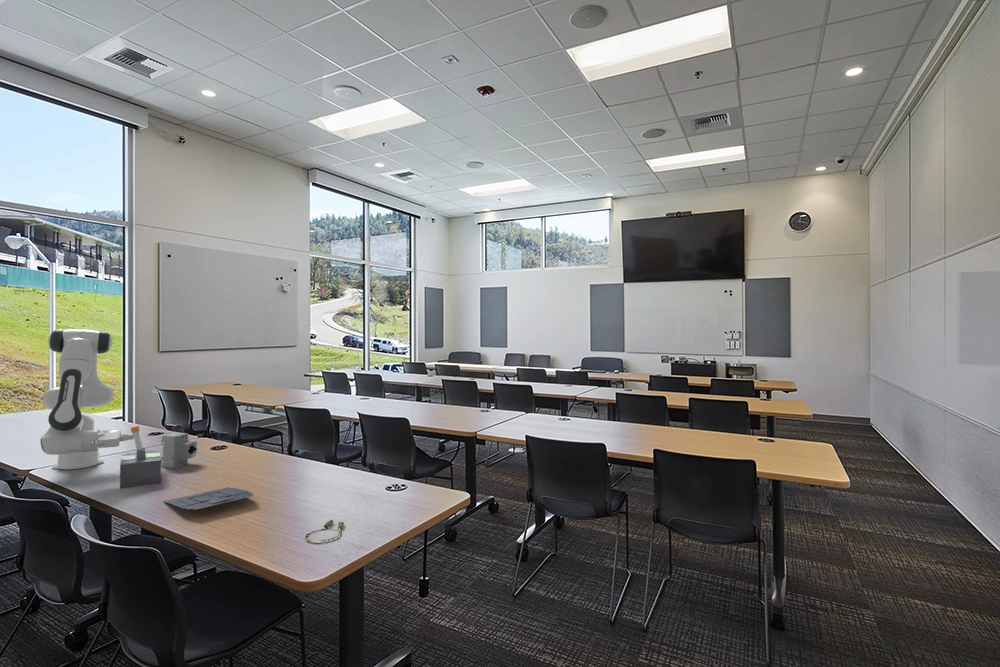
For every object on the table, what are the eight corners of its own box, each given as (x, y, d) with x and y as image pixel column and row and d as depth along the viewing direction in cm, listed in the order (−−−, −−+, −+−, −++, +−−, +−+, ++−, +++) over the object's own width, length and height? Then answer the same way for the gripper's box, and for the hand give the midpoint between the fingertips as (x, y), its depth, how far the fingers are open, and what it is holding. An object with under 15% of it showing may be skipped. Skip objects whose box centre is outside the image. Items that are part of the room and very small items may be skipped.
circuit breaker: (189, 467, 237) (190, 436, 237) (160, 466, 237) (161, 436, 237) (199, 463, 244) (200, 433, 244) (171, 462, 245) (172, 432, 245)
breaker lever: (137, 456, 217) (130, 426, 216) (145, 454, 219) (138, 424, 217) (137, 457, 215) (130, 427, 213) (145, 455, 217) (138, 425, 215)
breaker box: (121, 475, 222) (121, 446, 222) (158, 471, 230) (159, 442, 230) (119, 488, 204) (120, 456, 204) (160, 483, 212) (161, 452, 212)
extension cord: (357, 530, 167) (357, 525, 167) (320, 548, 153) (320, 541, 153) (332, 523, 173) (333, 517, 173) (294, 539, 159) (294, 533, 159)
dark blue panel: (189, 519, 170) (188, 508, 170) (162, 508, 190) (162, 498, 190) (260, 501, 189) (259, 492, 189) (229, 493, 208) (229, 484, 208)
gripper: (90, 437, 198) (132, 433, 206) (94, 429, 215) (134, 425, 223) (90, 453, 198) (132, 448, 206) (94, 443, 215) (134, 439, 223)
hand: (133, 436), depth 215 cm, fingers closed, pressing on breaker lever
